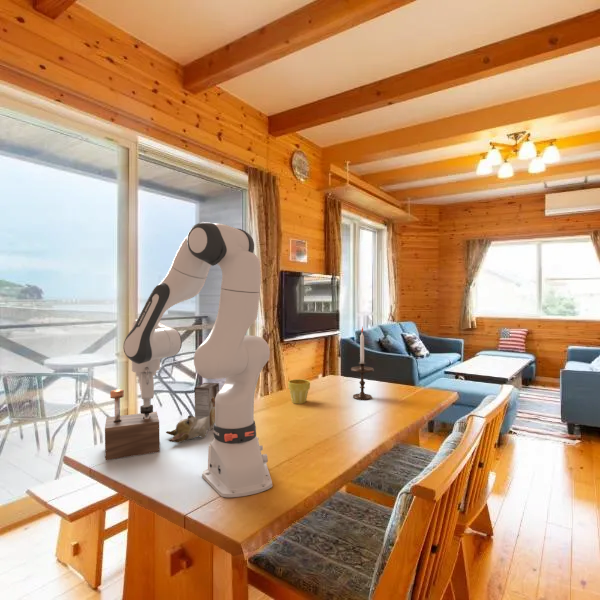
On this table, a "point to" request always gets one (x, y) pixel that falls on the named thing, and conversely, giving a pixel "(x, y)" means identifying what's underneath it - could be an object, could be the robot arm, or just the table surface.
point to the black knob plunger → (146, 411)
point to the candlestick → (362, 371)
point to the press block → (131, 436)
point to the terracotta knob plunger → (117, 402)
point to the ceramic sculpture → (189, 429)
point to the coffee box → (206, 401)
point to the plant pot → (299, 390)
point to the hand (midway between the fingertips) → (146, 406)
